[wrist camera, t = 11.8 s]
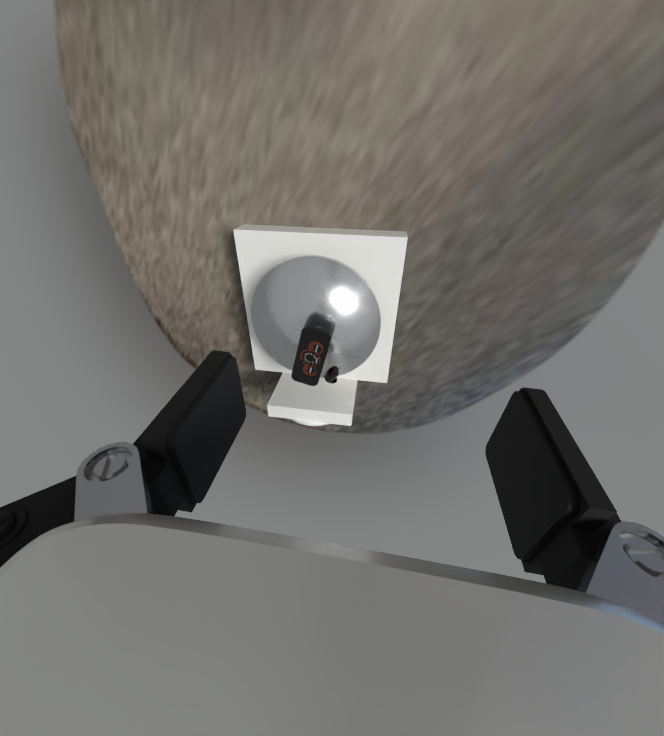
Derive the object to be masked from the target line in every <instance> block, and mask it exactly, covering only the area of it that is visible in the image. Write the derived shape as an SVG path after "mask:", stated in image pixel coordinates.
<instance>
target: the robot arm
mask: <svg viewBox="0 0 664 736" xmlns="http://www.w3.org/2000/svg"><path fill="white" fill-rule="evenodd" d="M245 417H246V409H245V403H244V398H243V393H242V387H241V382H240V377H239V372H238V366H237V361H236V358H235V357H232V355H231V353H229V352H223V351H212V352H211V353H210V354H209V355H208V356H207V357H206V358H205V360H204V361H203V362H202V363H201V364H200V366H199V367H198V368H197V369H196V370H195V372H194V373H193V374H192V375H191V376H190V378H189V379H188V380H187V381H186V382H185V384H184V385H183V386H182V387H181V388H180V389H179V390H178V391H177V393H176V394H175V395H174V396H173V397H172V399H171V400H170V401H169V402H168V403H167V405H166V406H165V407H164V408H163V409H162V410H161V412H160V413H159V414H158V415H157V416H156V418H155V419H154V420H153V421H152V422H151V424H150V425H149V426H148V427H147V428H146V430H145V431H144V432H143V433H142V434H141V435H140V436H139V438H138V439H137V440H136V441H135V442H134V444H131V443H127V442H117V443H113V444H109V445H106V446H104V447H101V448H99V449H97V450H96V451H95V452H93V453H91V454H90V455H89V456H88V457H87V458H86V459H85V460H84V461H83V462H82V463H81V465H80V466H79V468H78V471H77V475H76V476H75V477H72V478H70V479H68V480H65V481H63V482H60V483H58V484H56V485H53V486H51V487H49V488H46V489H44V490H41V491H39V492H36V493H34V494H31V495H29V496H27V497H24V498H22V499H20V500H17V501H15V502H12V503H10V504H7V505H5V506H3V507H0V736H664V537H663V536H662V535H660V534H659V533H657V532H655V531H654V530H652V529H650V528H648V527H646V526H644V525H641V524H638V523H635V522H627V521H623V522H621V520H620V518H619V517H618V515H617V513H616V512H617V511H616V509H615V508H614V506H613V504H612V503H611V501H610V499H609V498H608V496H607V494H606V493H605V491H604V489H603V488H602V486H601V484H600V483H599V481H598V479H597V478H596V476H595V474H594V473H593V471H592V469H591V468H590V466H589V464H588V462H587V461H586V459H585V457H584V456H583V454H582V452H581V451H580V449H579V447H578V446H577V444H576V442H575V441H574V439H573V437H572V436H571V434H570V432H569V431H568V429H567V427H566V425H565V424H564V422H563V420H562V419H561V417H560V415H559V414H558V412H557V410H556V409H555V407H554V405H553V404H552V402H551V400H550V399H549V397H548V395H547V394H546V392H545V391H544V390H540V389H531V388H521V389H520V391H515V392H514V393H513V394H512V396H511V398H510V400H509V402H508V404H507V406H506V408H505V410H504V412H503V414H502V416H501V418H500V420H499V422H498V424H497V426H496V428H495V430H494V432H493V433H492V435H491V437H490V439H489V441H488V443H487V445H486V458H487V461H488V464H489V467H490V471H491V475H492V478H493V482H494V485H495V488H496V492H497V495H498V499H499V502H500V506H501V509H502V513H503V516H504V519H505V523H506V526H507V530H508V533H509V537H510V540H511V543H512V547H513V550H514V553H515V555H516V557H517V558H518V559H521V561H522V564H523V567H524V571H525V572H529V573H535V574H540V575H544V578H545V581H546V583H547V584H545V583H540V582H535V581H530V580H525V579H520V578H515V577H511V576H506V575H500V574H496V573H490V572H485V571H479V570H474V569H469V568H463V567H458V566H452V565H447V564H441V563H436V562H431V561H425V560H420V559H415V558H409V557H404V556H398V555H392V554H387V553H382V552H376V551H371V550H365V549H360V548H354V547H349V546H343V545H338V544H332V543H326V542H321V541H315V540H309V539H304V538H299V537H293V536H287V535H282V534H276V533H270V532H264V531H259V530H253V529H247V528H242V527H236V526H230V525H225V524H219V523H212V522H206V521H200V520H192V519H187V518H181V517H174V516H175V514H176V512H177V510H181V511H187V512H192V511H193V509H194V507H195V505H196V504H197V503H201V502H202V500H203V499H204V497H205V495H206V494H207V492H208V490H209V488H210V486H211V484H212V482H213V480H214V478H215V476H216V474H217V472H218V471H219V469H220V466H221V465H222V463H223V461H224V459H225V457H226V455H227V453H228V451H229V449H230V447H231V445H232V444H233V442H234V440H235V438H236V436H237V434H238V432H239V430H240V428H241V426H242V424H243V422H244V420H245Z"/></svg>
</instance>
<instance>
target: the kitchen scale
mask: <svg viewBox="0 0 664 736" xmlns="http://www.w3.org/2000/svg"><path fill="white" fill-rule="evenodd" d="M233 231H234V238H235V244H236V250H237V257H238V263H239V269H240V276H241V282H242V288H243V295H244V301H245V307H246V314H247V320H248V326H249V333H250V339H251V345H252V352H253V358H254V365H255V370H264V371H274V372H283V373H282V375H281V378H280V380H279V382H278V384H277V386H276V388H275V390H274V392H273V394H272V396H271V398H270V400H269V402H268V404H267V408H268V415H269V416H272V417H280V418H288V419H292V420H293V421H295V422H297V423H300V424H303V425H308V426H321V425H326V424H330V423H331V424H339V425H347V426H351V424H352V417H353V409H354V402H355V395H356V388H357V381H358V380H363V381H373V382H383V383H387V379H388V372H389V365H390V358H391V350H392V343H393V336H394V329H395V322H396V315H397V308H398V301H399V294H400V287H401V280H402V273H403V266H404V259H405V252H406V245H407V238H408V237H407V232H405V231H382V230H359V229H336V228H314V227H291V226H268V225H245V224H243V225H241V226H239V227H237V228H235V229H233ZM312 314H316V315H319V316H322V317H326V318H329V319H332V320H333V321H334V322H335V330H334V333H333V336H332V340H331V343H330V346H329V350H328V353H327V356H326V359H325V363H324V366H323V369H322V372H321V376H320V379H319V382H318V384H317V385H316V386H310V385H306V384H303V383H300V382H297V381H294V380H293V379H292V377H291V374H292V370H293V365H294V361H295V357H296V352H297V348H298V344H299V339H300V335H301V331H302V329H303V327H304V325H305V323H306V321H307V319H308V317H309V316H310V315H312ZM332 366H337V367H338V368H339V374H338V376H337V382H336V383H334V384H332V383H328V382H326V381H325V379H324V374H325V373H326V372H327V370H328V369H329V368H330V367H332Z"/></svg>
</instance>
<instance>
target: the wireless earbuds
mask: <svg viewBox="0 0 664 736" xmlns="http://www.w3.org/2000/svg"><path fill="white" fill-rule="evenodd" d="M334 330H335V322H334V321H333V320H332V319H329V318H326V317H322V316H319V315H316V314H312V315H310V316H309V317H308V319H307V321H306V323H305V325H304V327H303V329H302V331H301V335H300V339H299V344H298V348H297V352H296V357H295V361H294V365H293V370H292V374H291V377H292V379H293V380H294V381H297V382H300V383H303V384H306V385H310V386H316V385H317V384H318V382H319V379H320V376H321V372H322V369H323V366H324V363H325V359H326V356H327V353H328V350H329V346H330V343H331V340H332V336H333V333H334ZM338 374H339V368H338V367H337V366H332V367H330V368H329V369H328V370H327V372H326V373H325V374H324V379H325V381H326V382H328V383H332V384H334V383H336V382H337V376H338Z"/></svg>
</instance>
